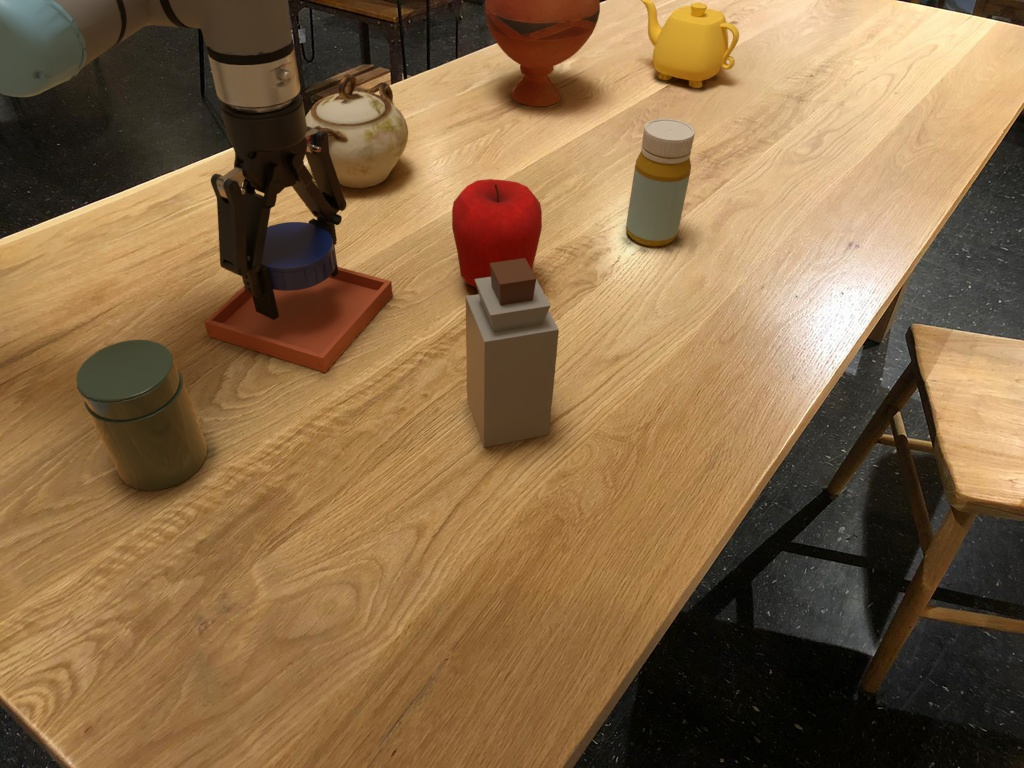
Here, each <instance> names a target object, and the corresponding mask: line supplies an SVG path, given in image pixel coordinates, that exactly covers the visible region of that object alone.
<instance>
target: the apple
mask: <svg viewBox="0 0 1024 768" xmlns="http://www.w3.org/2000/svg"><path fill="white" fill-rule="evenodd" d="M542 215H543V212H542V206H541V201H539V199H538V198H537V197H536V195H535V194H534V193H533V192H532V190H531V189H530V188H529V187H528V186H526V185H524V184H522V183H520V182H517V181H513V180H512V181H511V180H504V179H494V178H488V179H479V180H475V181H473V182H471V183H469V184H468V185H467V186H465V187H464V189H463V190H462V191H460V193H459V194H458V195H457V197H456V198H455V199H454V200H453V203H452V209H451V229H452V233H453V238H454V243H455V247H456V253H457V258H458V264H459V272H460V276H461V278H463V280H464V282H466V284H468V285H470V286H472V287H474V288H475V289H477V286H476V283H475V279H479V278H485V277H491V274H490V263H494V262H501V261H508V260H515V259H522V258H525V259H526V261H527V262H528V264H529V266H530V268H531V270H532V271H533V268H534V263H535V260H536V255H537V251H538V248H539V247H538V246H539V243H540V238H541V233H542V230H543V229H542V228H543V222H542V221H543V220H542V219H543V217H542Z"/></svg>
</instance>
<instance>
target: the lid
mask: <svg viewBox="0 0 1024 768" xmlns="http://www.w3.org/2000/svg"><path fill="white" fill-rule="evenodd" d="M334 246H335V245H334V244H333V239H332V237H331V235H330V233H329V232H328V231H327V230H325V229H324V228H322V227H320V226H317V225H315V224H311V223H309V222H305V221H287V222H281V223H275V224H273V225H268V227H267V233H266V239H265V245H264V251H263V257H262V263H261V264H262V265H265V266H267V267H268V269H269V273H270V278H271V282H272V287H273V289H274V290H282V291H293V290H301V289H306V288H309V287H312V286H315V285H317V284H319V283H321V282H323V281H324V280H326V279H327V278H328V277H329V276H330V275H331V274H332V273H333V271H334V269H335V266H336V260H337V254H336V255H335V253H336V247H335V248H334ZM248 257H249V256H248Z"/></svg>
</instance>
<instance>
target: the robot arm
mask: <svg viewBox="0 0 1024 768" xmlns="http://www.w3.org/2000/svg"><path fill="white" fill-rule="evenodd" d="M150 26H157V27H158V26H159V27H171V28H181V29H200V30H201V34H202V37H203V40H204V42H205V48H206V51H207V57H208V60H209V66H210V70H211V74H212V80H213V84H214V89H215V93H216V96H217V98H218V99H219V100H220V101H221V102H220V104H219V108H220V113H221V116H222V121H223V125H224V129H225V134H226V137H227V140H228V142H229V143H230V146H231V147H232V149H233V151H234V161H233V168H232V169H231V170H229V171H228V172H226V173H225V174H224V175H222V174H219V173H213V174H212V175H211V177H210V184H211V187H212V189H213V192H214V195H215V197H216V208H217V211H216V212H217V227H218V249H219V265H220V267H221V268H222V269H224V270H227V271H229V272H231V273H233V274H234V275H237V276H240V277H241V278H242V282H243V287H245V290H246V291H247V293H249V294H251V295H252V297H253V301H254V305H255V309H256V312H258V313H260V314H262V315H265V316H267V317H269V318H271V319H273V320H275V319H276V318H278V317H279V314H278V309H277V305H276V300H275V296H274V291H273V287H272V282H271V278H270V273H269V269H268V267H267V266H265V265H262V264H261V263H262V257H263V251H264V245H265V239H266V233H267V227H269V221H270V214H271V210H272V208H275V206H276V202H277V196H278V194H280V193H281V192H282V191H283V190H284V189H286V188H289V187H292V188H293V190H294V191H295V193H296V194H297V195H298V197H299V199H301V201H302V202H303V203H304V205H305V206H306V208H307V209H308V210H309V211H310V213H311V214H312V215H313V217H315V218H312V219H310V220H308V223H311V224H315V225H317V226H320V227H322V228H324V229H325V230H327V231H328V232H329V233H330V235H331V237H332V239H333V244H334V248H335V249H336V247H335V246H336V245H337V239H338V238H337V233H336V226H339V225H341V223H342V220H343V217H342V215H340V214H338V213H339V212H343V211H345V210H346V209H347V201H346V198H345V195H344V192H343V190H342V189H343V188H342V185H340V183H339V180H338V177H337V174H336V171H335V168H334V165H333V162H332V159H331V156H330V154H329V140H328V134H327V133H326V132H323V131H320V130H317V129H314V128H311V127H308V126H307V124H306V118H305V117H306V113H305V106H304V99H303V97H302V96H301V95H300V94H299V93H300V92H301V83H300V75H299V70H298V69H299V68H298V63H297V58H296V50H295V44H294V39H293V34H292V27H291V19H290V12H289V5H288V0H0V95H4V96H8V97H14V98H29V97H34V96H37V95H40V94H42V93H44V92H45V91H48V90H50V89H52V88H54V87H57V86H58V85H60V84H63V83H66V82H68V81H71V79H72V78H74V77H76V76H77V75H78V74H79V72H80V71H81V70H82V69H83V68H84V67H86V66H87V65H88V64H90V63H92V62H93V61H94V60H95V59H97V58H99V56H101V55H102V54H103V53H105V52H107V51H109V50H111V49H113V48H114V47H116V46H117V45H120V43H122V42H123V41H126V40H127V39H128V38H130V37H131V36H132V35H134V34H135V33H137V32H138V31H140V30H141V29H143V28H144V27H150ZM305 157H306V160H307V163H308V165H309V169H310V170H309V169H308V168H307V166H306V165H305V162H304V160H305ZM310 171H311V172H310ZM313 179H314V180H313ZM257 192H259V193H261V194H259V193H257ZM262 194H263V195H262ZM335 255H336V256H337V254H336V252H335ZM248 256H249V257H248ZM338 267H339V266H338V260H337V259H336V266H335V269H334V271H333V273H332V274H331V276H333V277H335V276H336V275H338V274H339V273H338Z"/></svg>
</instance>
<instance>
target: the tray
mask: <svg viewBox="0 0 1024 768" xmlns="http://www.w3.org/2000/svg"><path fill="white" fill-rule="evenodd" d="M338 273H339V274H338V275H336V276H335V277H333V276H331V275H330V276H329V277H328V278H327V279H326V280H324V281H323V282H321V283H319V284H317V285H315V286H312V287H309V288H306V289H301V290H293V291H282V290H274V289H273V291H274V296H275V300H276V305H277V309H278V314H279V317H278V318H276V319H275V320H273V319H271V318H269V317H267V316H265V315H262V314H260V313H258V312H256V309H255V305H254V301H253V297H252V295H251V294H249V293H247V291H246V290H245V287H244V286H242V287H241V288H240V289H239V290H237V292H235V294H233V295H232V296H231V297H230V298H229V299H228V300H226V301H225V303H223V304H222V305H221V306H219V308H218V309H217V310H215V311H214V312H213V313H212V314H210V315H209V317H207V318H206V319H205V320H204V321H203V324H204V327H205V330H206V334H207V337H209V338H213V339H215V340H219V341H221V342H226V343H227V344H228V343H229V344H232V345H236V346H238V347H241V348H243V349H247V350H251V351H255V352H258V353H260V354H261V353H262V354H264V355H267V356H270V357H273V358H277V359H280V360H284V361H286V362H289V363H293V364H296V365H299V366H303V367H306V368H309V369H313V370H316V371H319V372H322V373H327V372H328V370H329V369H330V368H331V367H332V366H333V365H334V363H336V361H337V360H338V359H339V358H340V357H341V355H342V354H343V353H344V352H345V351H346V349H348V347H349V346H350V345H351V344H352V343H353V342H354V340H355V339H356V338H357V337H358V336H359V335H360V334H361V332H362V331H363V330H364V329H365V328H366V327H367V325H369V323H370V322H371V321H372V320H373V319H374V317H375V316H377V314H378V313H379V312H380V310H381V309H382V308H383V307H384V306H385V305H386V303H387V302H389V300H390V299H391V298H392V297H393V295H394V293H393V285H392V281H391V280H388V279H385V278H381V277H377V276H373V275H369V274H366V273H362V272H359V271H355V270H351V269H347V268H345V267H340V266H338Z"/></svg>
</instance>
